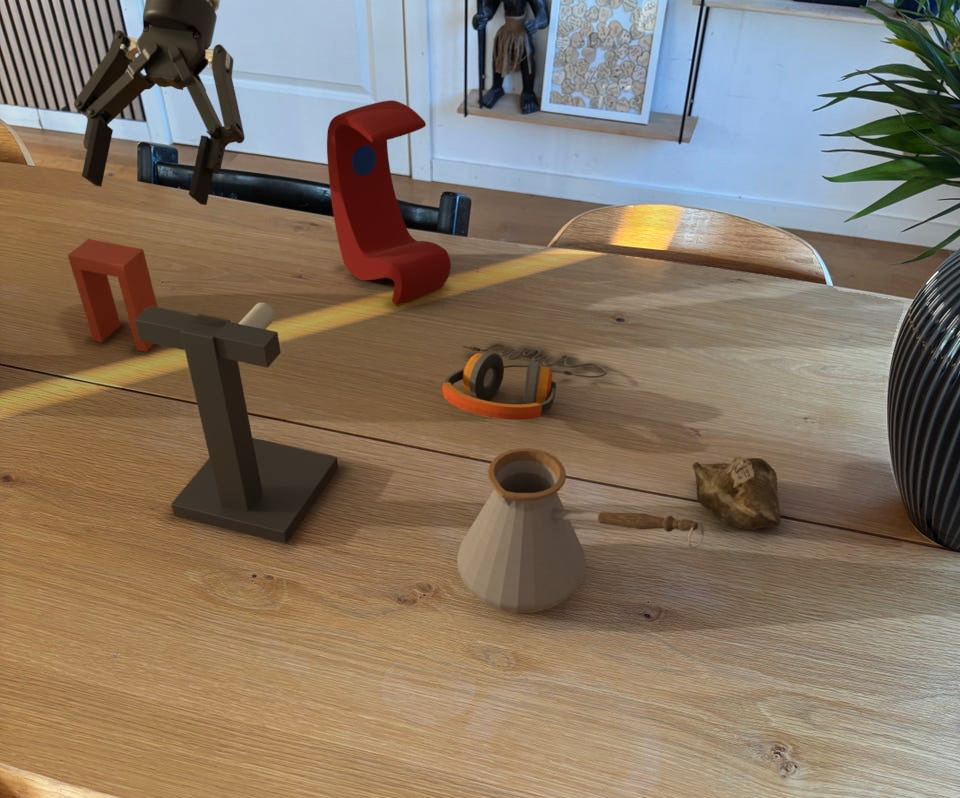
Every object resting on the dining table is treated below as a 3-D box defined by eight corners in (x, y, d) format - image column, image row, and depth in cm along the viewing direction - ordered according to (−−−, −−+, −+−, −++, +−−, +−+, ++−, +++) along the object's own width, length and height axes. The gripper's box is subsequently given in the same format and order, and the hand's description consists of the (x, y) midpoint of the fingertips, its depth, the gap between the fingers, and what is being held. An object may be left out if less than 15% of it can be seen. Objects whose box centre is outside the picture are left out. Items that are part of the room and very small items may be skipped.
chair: (336, 265, 131) (320, 100, 116) (382, 248, 134) (373, 85, 119) (404, 313, 123) (397, 143, 108) (452, 294, 126) (451, 126, 111)
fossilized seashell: (669, 468, 100) (713, 546, 95) (716, 420, 96) (764, 499, 91) (717, 482, 105) (761, 557, 100) (764, 437, 101) (812, 513, 96)
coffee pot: (431, 593, 91) (427, 460, 80) (503, 524, 98) (508, 392, 86) (639, 702, 83) (667, 571, 72) (702, 619, 90) (737, 486, 79)
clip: (93, 340, 118) (67, 255, 110) (112, 323, 121) (88, 238, 113) (146, 352, 117) (123, 266, 109) (164, 334, 119) (143, 249, 111)
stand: (173, 516, 98) (122, 330, 83) (235, 441, 106) (198, 259, 91) (286, 544, 95) (254, 358, 81) (340, 465, 103) (320, 283, 88)
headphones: (616, 343, 114) (565, 403, 99) (608, 388, 117) (557, 453, 102) (477, 313, 118) (407, 366, 103) (473, 357, 121) (405, 415, 106)
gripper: (299, 32, 114) (258, 220, 116) (105, 5, 119) (68, 187, 121) (271, -8, 107) (227, 194, 108) (66, -34, 112) (27, 159, 113)
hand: (143, 191), depth 115 cm, fingers open, 13 cm apart
